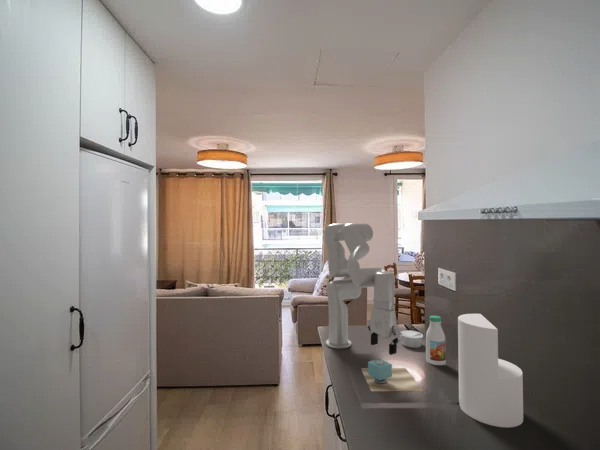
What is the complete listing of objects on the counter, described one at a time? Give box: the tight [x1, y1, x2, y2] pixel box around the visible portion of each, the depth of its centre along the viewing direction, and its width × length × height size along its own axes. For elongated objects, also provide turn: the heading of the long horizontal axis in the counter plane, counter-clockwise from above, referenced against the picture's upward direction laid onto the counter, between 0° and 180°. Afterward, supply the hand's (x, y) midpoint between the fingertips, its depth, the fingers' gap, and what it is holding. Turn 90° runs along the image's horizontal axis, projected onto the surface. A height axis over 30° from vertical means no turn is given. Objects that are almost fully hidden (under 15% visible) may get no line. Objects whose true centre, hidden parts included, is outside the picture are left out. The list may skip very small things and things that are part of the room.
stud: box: [374, 378, 387, 384], centre depth 116 cm, size 4×4×6 cm
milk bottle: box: [425, 315, 447, 366], centre depth 133 cm, size 8×8×20 cm
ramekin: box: [400, 329, 424, 349], centre depth 156 cm, size 11×11×5 cm
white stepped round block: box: [457, 313, 524, 428], centre depth 100 cm, size 17×17×28 cm
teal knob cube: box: [367, 358, 393, 380], centre depth 116 cm, size 6×6×5 cm
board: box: [360, 367, 424, 392], centre depth 118 cm, size 18×18×1 cm
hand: (383, 348), depth 120 cm, fingers open, 9 cm apart
